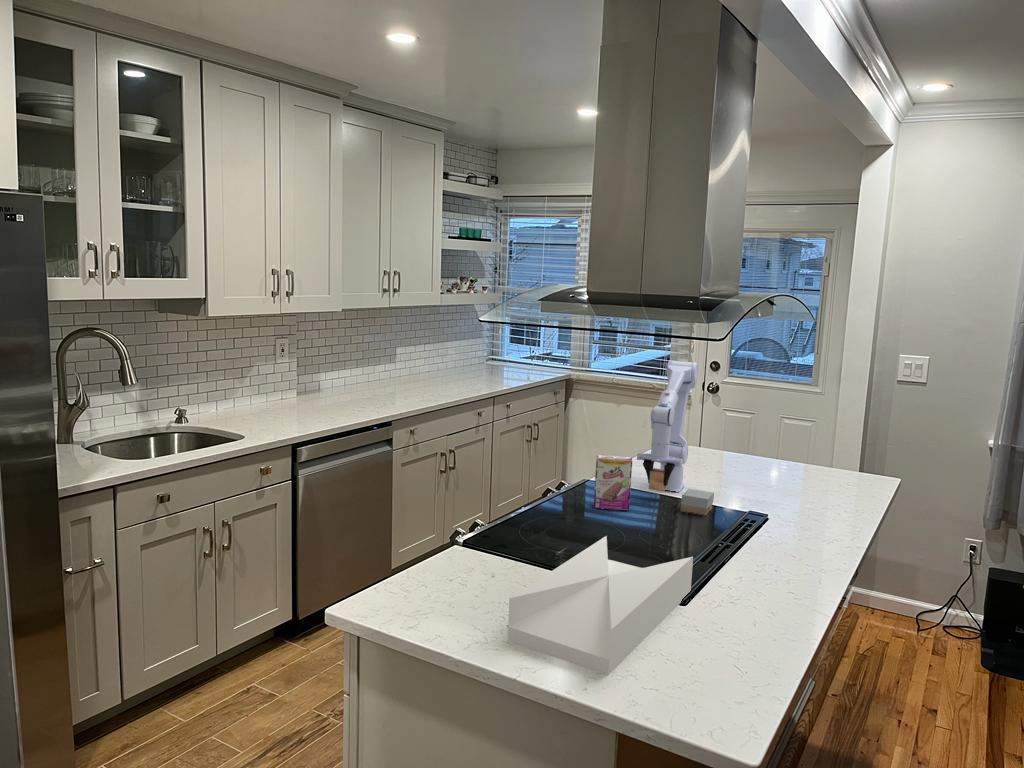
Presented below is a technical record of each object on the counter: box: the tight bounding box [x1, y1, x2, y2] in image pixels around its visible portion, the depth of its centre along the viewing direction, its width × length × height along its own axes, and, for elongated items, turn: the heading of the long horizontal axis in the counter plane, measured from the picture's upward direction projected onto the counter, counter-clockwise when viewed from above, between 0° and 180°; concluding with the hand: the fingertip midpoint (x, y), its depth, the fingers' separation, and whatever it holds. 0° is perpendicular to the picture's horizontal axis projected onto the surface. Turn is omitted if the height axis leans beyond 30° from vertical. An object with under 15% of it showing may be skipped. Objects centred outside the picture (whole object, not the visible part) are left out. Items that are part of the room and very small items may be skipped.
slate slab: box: [680, 488, 715, 509], centre depth 242 cm, size 8×8×3 cm
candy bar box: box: [593, 454, 633, 511], centre depth 241 cm, size 11×5×16 cm, turn 84°
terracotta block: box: [648, 467, 666, 492], centre depth 251 cm, size 4×4×6 cm
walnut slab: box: [680, 503, 713, 516], centre depth 243 cm, size 8×8×3 cm
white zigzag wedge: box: [507, 535, 694, 676], centre depth 167 cm, size 45×22×10 cm, turn 148°
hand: (657, 484), depth 251 cm, fingers closed on terracotta block, 4 cm apart
